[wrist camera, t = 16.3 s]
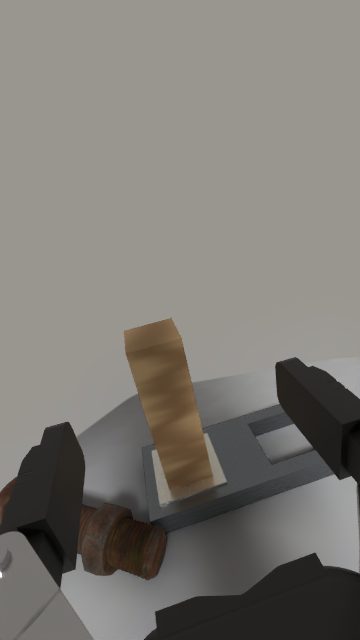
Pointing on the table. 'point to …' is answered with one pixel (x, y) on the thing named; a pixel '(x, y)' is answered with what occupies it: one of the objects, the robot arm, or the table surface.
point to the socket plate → (229, 472)
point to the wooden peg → (168, 401)
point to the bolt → (112, 540)
